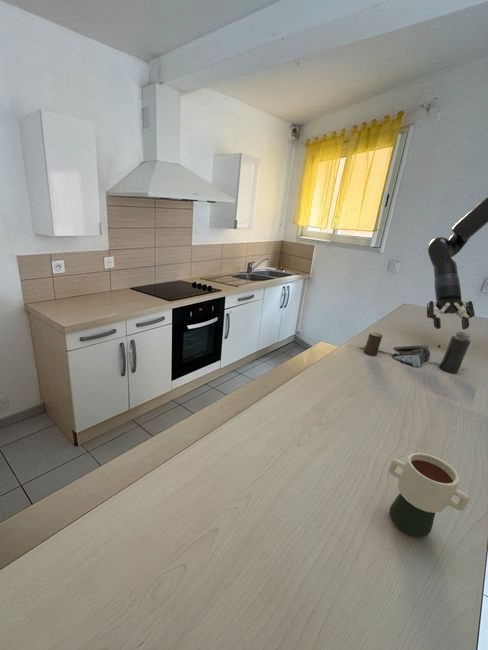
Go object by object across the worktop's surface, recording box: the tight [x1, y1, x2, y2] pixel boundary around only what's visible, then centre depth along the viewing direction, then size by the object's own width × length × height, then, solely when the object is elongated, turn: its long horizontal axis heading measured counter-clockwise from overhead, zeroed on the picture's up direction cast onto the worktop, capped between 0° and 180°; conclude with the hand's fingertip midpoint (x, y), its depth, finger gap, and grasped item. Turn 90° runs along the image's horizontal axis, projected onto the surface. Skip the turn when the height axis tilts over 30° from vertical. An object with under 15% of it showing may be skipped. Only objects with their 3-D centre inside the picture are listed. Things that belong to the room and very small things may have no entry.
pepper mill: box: [439, 331, 471, 374], centre depth 111 cm, size 5×5×14 cm
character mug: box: [387, 452, 470, 538], centre depth 55 cm, size 11×7×13 cm, turn 44°
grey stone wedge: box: [391, 344, 431, 368], centre depth 118 cm, size 10×7×12 cm
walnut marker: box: [363, 331, 383, 357], centre depth 123 cm, size 4×4×8 cm
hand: (451, 328), depth 119 cm, fingers open, 8 cm apart
